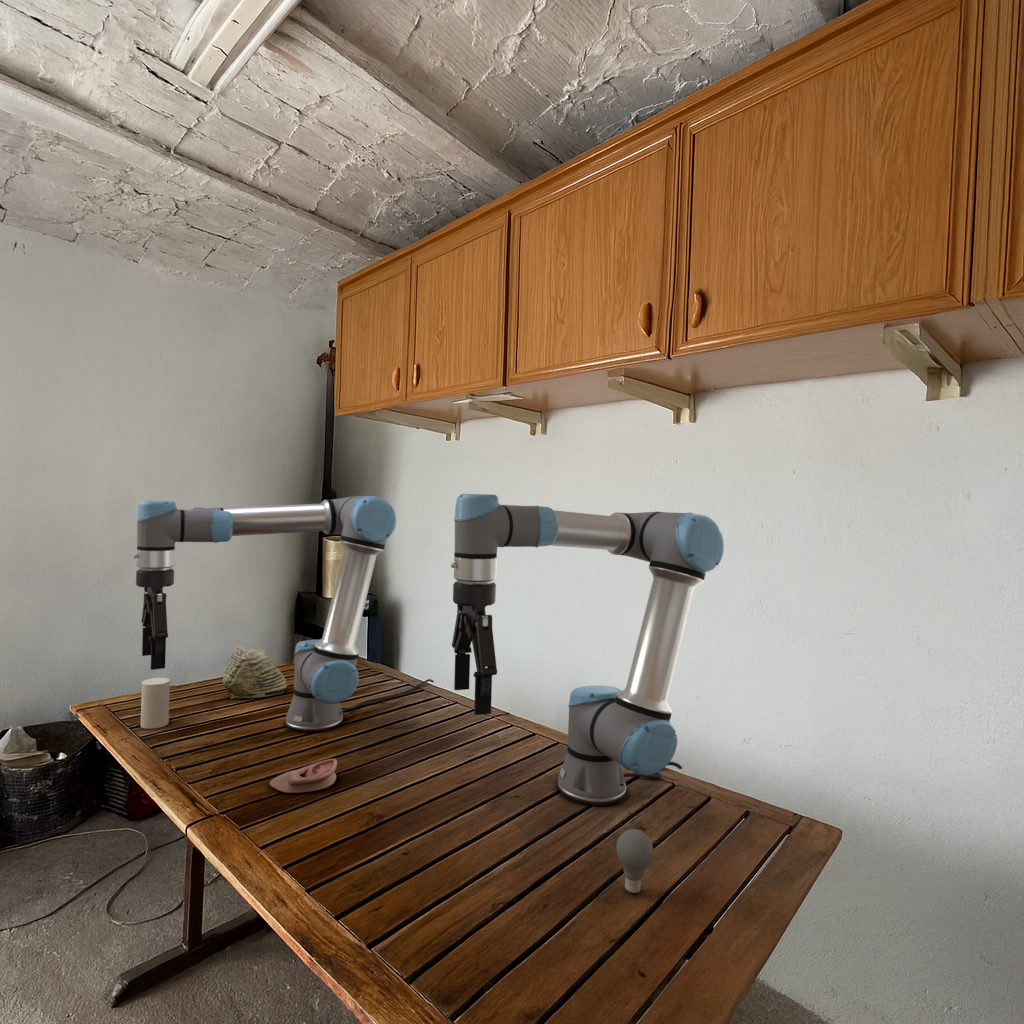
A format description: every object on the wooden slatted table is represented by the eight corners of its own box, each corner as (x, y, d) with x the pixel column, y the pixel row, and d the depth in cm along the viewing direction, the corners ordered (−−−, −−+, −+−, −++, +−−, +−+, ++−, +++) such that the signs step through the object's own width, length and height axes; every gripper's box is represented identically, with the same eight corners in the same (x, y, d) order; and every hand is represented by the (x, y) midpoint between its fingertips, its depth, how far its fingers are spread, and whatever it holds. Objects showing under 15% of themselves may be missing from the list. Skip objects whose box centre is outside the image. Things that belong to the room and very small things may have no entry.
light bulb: (610, 879, 108) (613, 822, 108) (644, 879, 109) (647, 822, 109) (619, 902, 102) (622, 840, 102) (655, 901, 103) (658, 840, 103)
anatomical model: (261, 770, 135) (291, 750, 147) (261, 789, 136) (290, 767, 147) (318, 779, 133) (344, 757, 144) (318, 797, 133) (343, 775, 144)
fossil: (218, 695, 195) (220, 647, 195) (278, 685, 208) (279, 640, 207) (228, 703, 189) (230, 653, 188) (289, 692, 201) (290, 645, 201)
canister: (146, 720, 173) (148, 677, 173) (172, 720, 174) (173, 677, 174) (136, 729, 166) (137, 684, 166) (162, 728, 167) (164, 684, 167)
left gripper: (129, 563, 151) (127, 651, 152) (144, 575, 131) (141, 677, 132) (165, 562, 156) (162, 648, 156) (184, 574, 136) (181, 672, 136)
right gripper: (438, 572, 122) (435, 681, 123) (473, 592, 98) (470, 727, 99) (475, 572, 124) (472, 679, 125) (518, 591, 101) (515, 723, 102)
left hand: (153, 661), depth 144 cm, fingers open, 13 cm apart
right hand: (471, 701), depth 112 cm, fingers open, 13 cm apart
